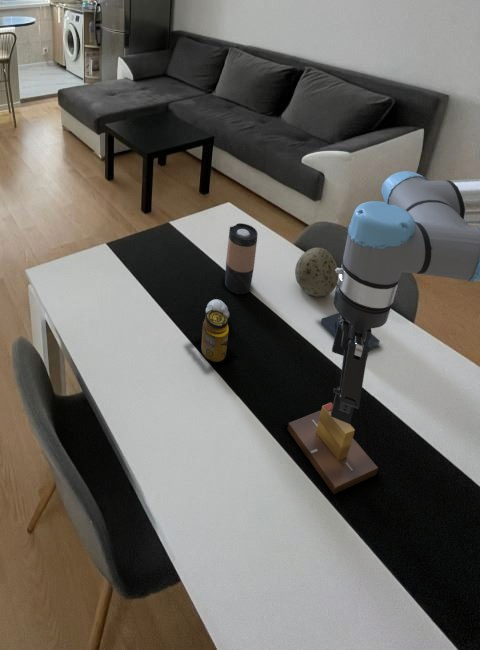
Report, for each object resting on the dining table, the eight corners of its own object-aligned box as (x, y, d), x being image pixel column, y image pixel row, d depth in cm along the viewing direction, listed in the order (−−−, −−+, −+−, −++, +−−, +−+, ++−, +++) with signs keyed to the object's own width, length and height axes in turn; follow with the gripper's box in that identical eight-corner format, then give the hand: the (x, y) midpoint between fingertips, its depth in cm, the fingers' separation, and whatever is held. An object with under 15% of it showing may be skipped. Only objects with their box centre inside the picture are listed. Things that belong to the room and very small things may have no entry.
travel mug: (251, 298, 123) (258, 241, 115) (223, 292, 125) (228, 237, 118) (250, 279, 129) (257, 225, 122) (224, 274, 132) (229, 221, 124)
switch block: (378, 347, 106) (381, 335, 105) (352, 356, 104) (355, 344, 103) (344, 316, 115) (347, 305, 114) (320, 324, 113) (322, 313, 112)
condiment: (233, 358, 106) (237, 322, 101) (206, 372, 103) (209, 336, 98) (213, 336, 112) (216, 301, 107) (187, 349, 109) (189, 313, 104)
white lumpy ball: (204, 329, 114) (206, 310, 111) (205, 309, 120) (206, 290, 117) (228, 334, 112) (230, 314, 110) (227, 313, 118) (229, 294, 116)
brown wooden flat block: (375, 475, 81) (378, 467, 80) (333, 495, 79) (335, 486, 78) (325, 415, 92) (327, 406, 91) (286, 430, 90) (288, 422, 89)
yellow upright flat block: (347, 456, 82) (355, 429, 79) (338, 460, 82) (345, 433, 79) (324, 428, 87) (331, 401, 84) (315, 432, 87) (322, 405, 84)
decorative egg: (343, 300, 120) (353, 258, 115) (310, 309, 118) (319, 266, 112) (314, 274, 130) (322, 234, 124) (284, 282, 128) (290, 241, 122)
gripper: (337, 240, 80) (319, 324, 88) (336, 343, 60) (313, 439, 68) (385, 252, 77) (361, 338, 85) (401, 365, 57) (368, 464, 65)
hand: (340, 383), depth 76 cm, fingers open, 13 cm apart
